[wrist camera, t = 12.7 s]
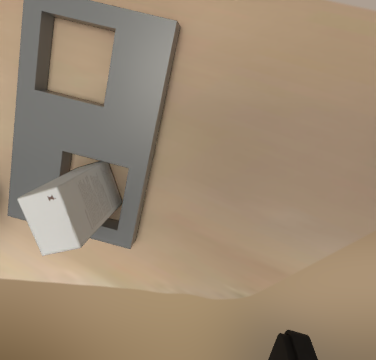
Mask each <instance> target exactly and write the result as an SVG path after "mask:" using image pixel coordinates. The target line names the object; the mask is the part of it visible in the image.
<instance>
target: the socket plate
mask: <svg viewBox="0 0 376 360" xmlns="http://www.w3.org/2000/svg"><path fill="white" fill-rule="evenodd" d="M54 17H56V18H61V19H65V20H69V21H73V22H77V23H81V24H85V25H90V26H94V27H98V28H102V29H106V30H110V31H115V37H114V44H113V50H112V57H111V63H110V70H109V76H108V83H107V89H106V96H105V102H104V104H100V103H96V102H92V101H88V100H84V99H80V98H76V97H72V96H68V95H64V94H60V93H56V92H52V91H48V90H47V85H48V75H49V65H50V55H51V46H52V36H53V26H54ZM179 31H180V25H179V24H178V22H177V21H175V20H170V19H166V18H162V17H158V16H153V15H149V14H145V13H141V12H137V11H132V10H128V9H124V8H120V7H116V6H111V5H107V4H103V3H99V2H94V1H90V0H24V3H23V17H22V30H21V43H20V57H19V70H18V83H17V97H16V110H15V123H14V137H13V150H12V163H11V177H10V190H9V204H8V216H11V217H14V218H18V219H22V220H25V221H27V220H26V218H25V216H24V213H23V211H22V209H21V207H20V205H19V202H18V200H17V199H18V198H19V197H20V196H22V195H24V194H26V193H28V192H30V191H32V190H34V189H36V188H38V187H40V186H42V185H44V184H46V183H48V182H50V181H52V180H54V179H56V178H58V177H60V176H62V175H64V174H66V173H68V172H70V164H71V157H72V153H73V154H77V155H81V156H84V157H88V158H92V159H96V160H100V161H104V162H107V163H111V164H115V165H119V166H123V167H127V168H129V171H128V177H127V182H126V187H125V193H124V198H123V203H122V209H121V214H120V219H119V221H117V220H113V219H109V218H108V219H107V220H106V221H105V222H104V223H103V224H102V225H101V226H100V227H99V228H98V229H97V230H96V232H95V233H94V234H93V235H92V236H91V237H90V238H91V239H95V240H99V241H102V242H106V243H110V244H113V245H117V246H121V247H124V248H128V249H131V247H132V246H133V244H134V242H135V241H136V237H137V232H138V227H139V223H140V218H141V213H142V208H143V203H144V199H145V194H146V189H147V184H148V179H149V175H150V170H151V165H152V160H153V155H154V151H155V146H156V141H157V136H158V132H159V127H160V122H161V117H162V112H163V108H164V103H165V98H166V93H167V88H168V84H169V79H170V74H171V69H172V64H173V60H174V55H175V50H176V45H177V40H178V36H179Z"/></svg>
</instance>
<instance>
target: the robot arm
mask: <svg viewBox="0 0 376 360" xmlns="http://www.w3.org/2000/svg"><path fill="white" fill-rule="evenodd" d="M268 360H318V359H317V356H316V354H315V351H314V348H313V345H312V342H311V340H310V338H309V336H308V335H305V334H302V333H298V332H295V331H291V330H287V331H286V332H285V334H281V333H280V334H279V335H278V336H277V339H276V342H275V344H274V346H273V349H272V352H271V354H270V357H269V359H268Z"/></svg>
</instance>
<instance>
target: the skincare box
mask: <svg viewBox="0 0 376 360" xmlns="http://www.w3.org/2000/svg"><path fill="white" fill-rule="evenodd" d="M17 200H18V202H19V205H20V207H21V209H22V211H23V213H24V216H25V218H26V220H27V222H28V225H29V227H30V229H31V231H32V233H33V236H34V238H35V240H36V242H37V245H38V247H39V249H40V252H41V254H42V256H44V255H49V254H54V253H59V252H63V251H68V250H73V249H78V248H81V247H82V246H83V245H84V244H85V242H86V241H87V240H88V239H89V238H90V237H91V236H92V235H93V234H94V233H95V232H96V230H97V229H98V228H99V227H100V226H101V225H102V224H103V223H104V222H105V221H106V220H107V219H108V218H109V217H110V216H111V215H112V214H113V213H114V211H115V210H116V209H117V208H118V207H119V206H120V205H121V204H122V200H121V197H120V194H119V191H118V189H117V186H116V183H115V180H114V177H113V174H112V172H111V169H110V166H109V163H107V162H104V161H99V162H95V163H92V164H88V165H85V166H81V167H78V168H76V169H74V170H72V171H70V172H68V173H66V174H64V175H62V176H60V177H58V178H56V179H54V180H52V181H50V182H48V183H46V184H44V185H42V186H40V187H38V188H36V189H34V190H32V191H30V192H28V193H26V194H24V195H22V196H20V197H19V198H18V199H17Z"/></svg>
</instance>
